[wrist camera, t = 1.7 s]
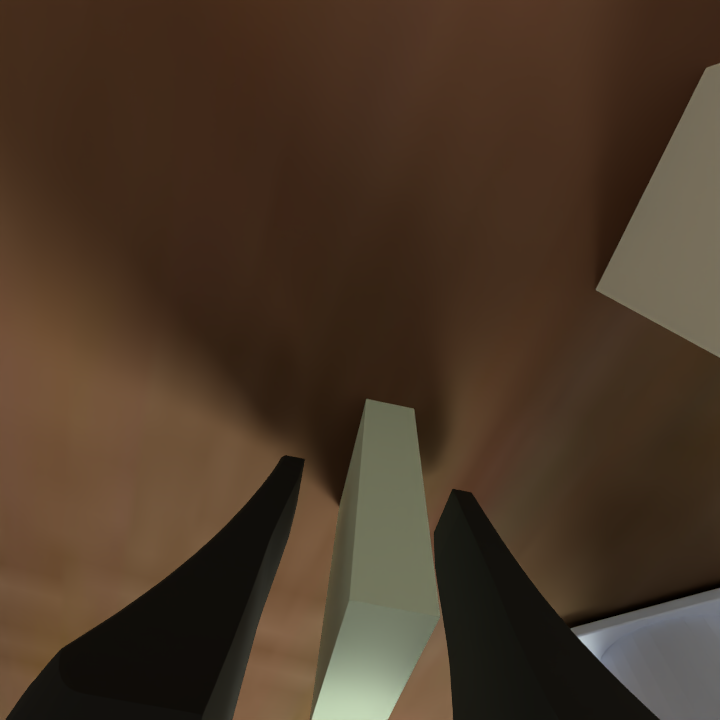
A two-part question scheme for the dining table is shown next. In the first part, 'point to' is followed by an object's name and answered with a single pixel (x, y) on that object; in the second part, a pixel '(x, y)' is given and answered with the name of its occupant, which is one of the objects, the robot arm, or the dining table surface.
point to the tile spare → (377, 574)
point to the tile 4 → (678, 230)
